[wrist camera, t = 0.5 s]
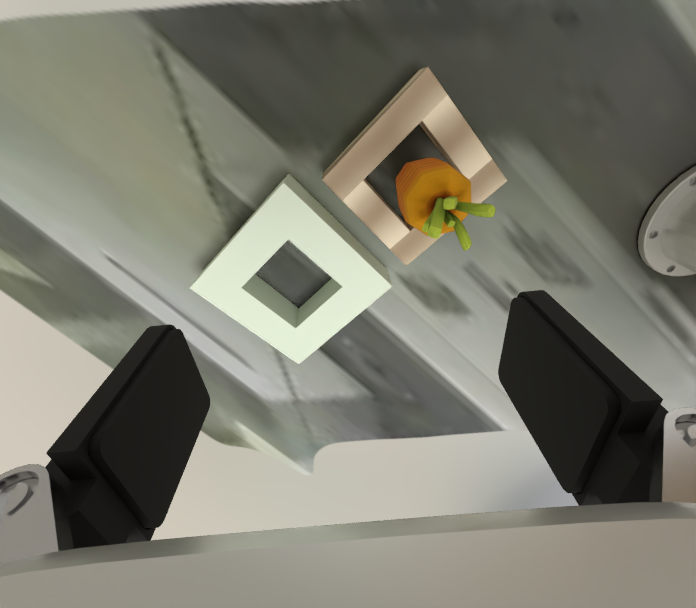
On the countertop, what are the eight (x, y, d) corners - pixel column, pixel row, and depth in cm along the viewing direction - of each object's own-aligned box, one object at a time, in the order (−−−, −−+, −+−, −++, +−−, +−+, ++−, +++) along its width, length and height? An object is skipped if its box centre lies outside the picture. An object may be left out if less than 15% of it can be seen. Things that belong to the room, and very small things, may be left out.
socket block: (493, 174, 33) (507, 180, 30) (401, 253, 36) (406, 265, 34) (419, 69, 28) (428, 66, 25) (322, 173, 32) (322, 180, 29)
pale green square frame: (386, 269, 37) (392, 286, 34) (301, 342, 42) (298, 364, 39) (288, 173, 32) (283, 182, 28) (203, 270, 36) (189, 288, 33)
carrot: (442, 150, 31) (518, 187, 18) (426, 204, 34) (484, 269, 21) (389, 140, 31) (431, 170, 18) (377, 195, 33) (406, 257, 20)
